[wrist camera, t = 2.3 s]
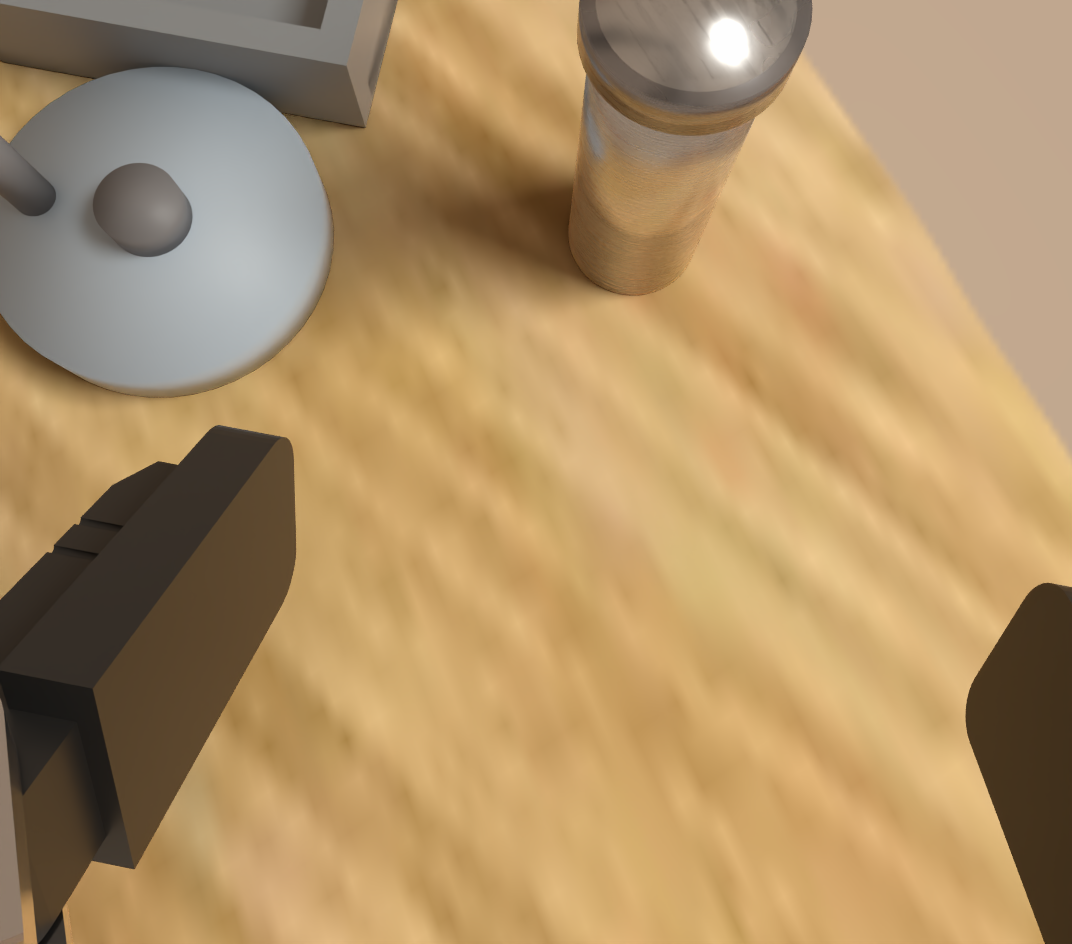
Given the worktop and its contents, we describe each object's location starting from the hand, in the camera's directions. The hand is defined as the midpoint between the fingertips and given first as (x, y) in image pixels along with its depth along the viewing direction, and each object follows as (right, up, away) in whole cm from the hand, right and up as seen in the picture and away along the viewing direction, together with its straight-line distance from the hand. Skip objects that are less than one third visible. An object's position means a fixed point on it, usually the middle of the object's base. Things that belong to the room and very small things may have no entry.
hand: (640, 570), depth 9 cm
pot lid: (-12, +8, +17) cm, 23 cm away
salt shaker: (+2, +9, +17) cm, 19 cm away
